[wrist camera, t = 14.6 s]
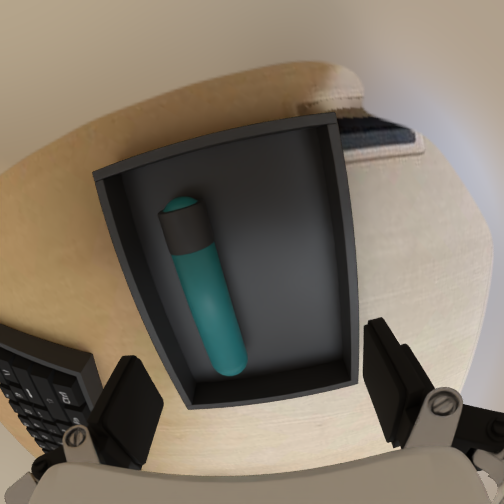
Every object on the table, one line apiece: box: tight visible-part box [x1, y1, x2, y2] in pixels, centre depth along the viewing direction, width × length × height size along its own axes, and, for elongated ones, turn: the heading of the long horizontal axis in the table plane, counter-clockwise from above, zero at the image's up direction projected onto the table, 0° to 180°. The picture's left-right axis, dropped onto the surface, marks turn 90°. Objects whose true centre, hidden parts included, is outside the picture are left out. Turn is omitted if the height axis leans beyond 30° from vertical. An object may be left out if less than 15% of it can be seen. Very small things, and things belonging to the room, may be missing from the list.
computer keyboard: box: [0, 324, 135, 470], centre depth 27 cm, size 45×16×4 cm, turn 174°
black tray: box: [92, 112, 359, 410], centre depth 17 cm, size 18×13×3 cm
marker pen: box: [158, 196, 248, 376], centre depth 17 cm, size 13×3×3 cm
